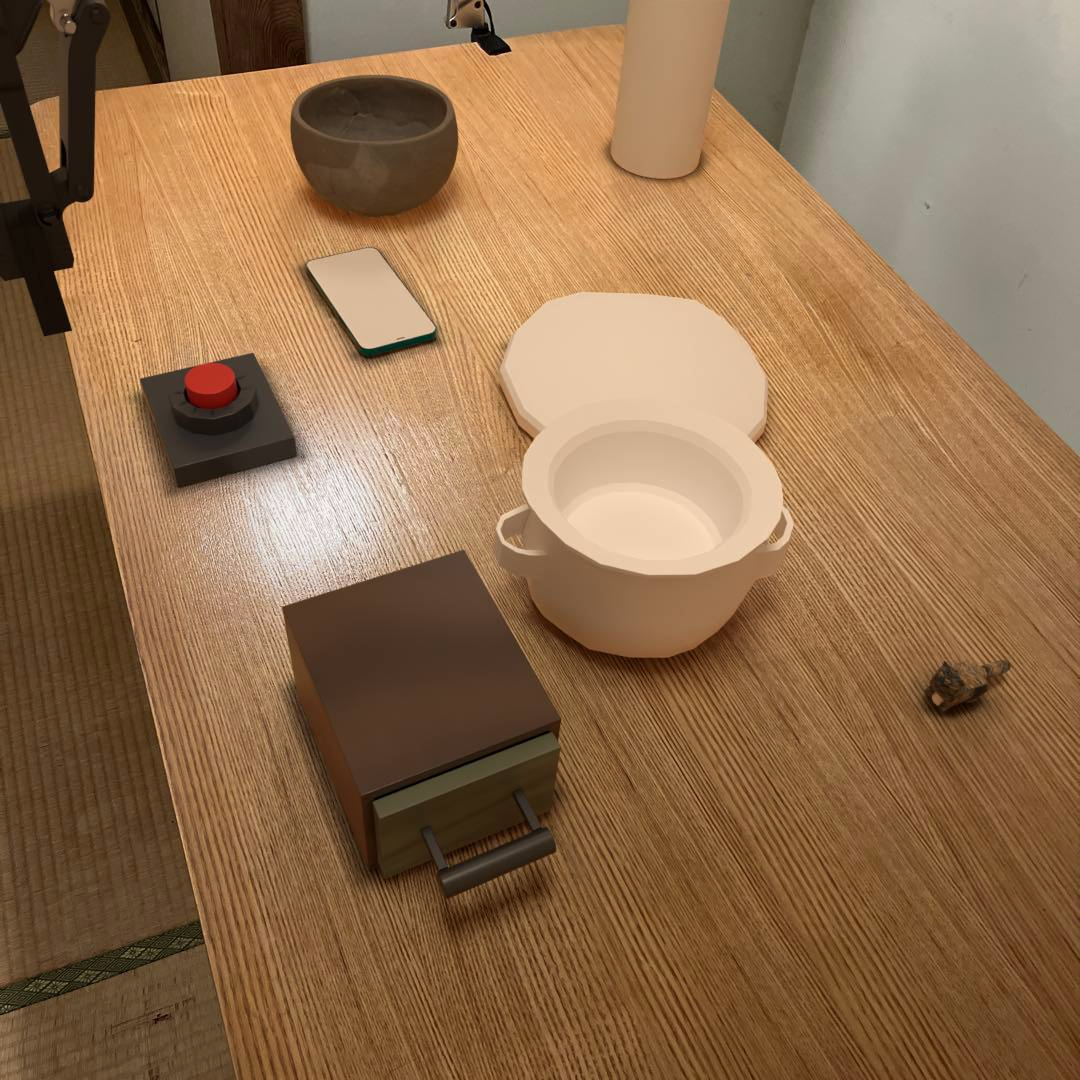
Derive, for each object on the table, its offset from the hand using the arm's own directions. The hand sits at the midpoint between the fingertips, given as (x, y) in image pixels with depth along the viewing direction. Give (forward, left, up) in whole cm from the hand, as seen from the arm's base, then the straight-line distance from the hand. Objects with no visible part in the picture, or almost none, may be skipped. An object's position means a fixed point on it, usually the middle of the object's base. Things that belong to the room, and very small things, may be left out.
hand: (53, 319), depth 59 cm
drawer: (+14, -22, -25) cm, 37 cm away
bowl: (+36, +49, -27) cm, 66 cm away
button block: (+10, +18, -26) cm, 33 cm away
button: (+10, +18, -23) cm, 31 cm away
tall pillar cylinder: (+70, +46, -27) cm, 88 cm away
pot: (+34, -12, -27) cm, 45 cm away
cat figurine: (+52, -30, -27) cm, 66 cm away
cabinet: (+14, -18, -26) cm, 35 cm away
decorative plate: (+46, +9, -27) cm, 54 cm away
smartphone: (+28, +30, -26) cm, 49 cm away
